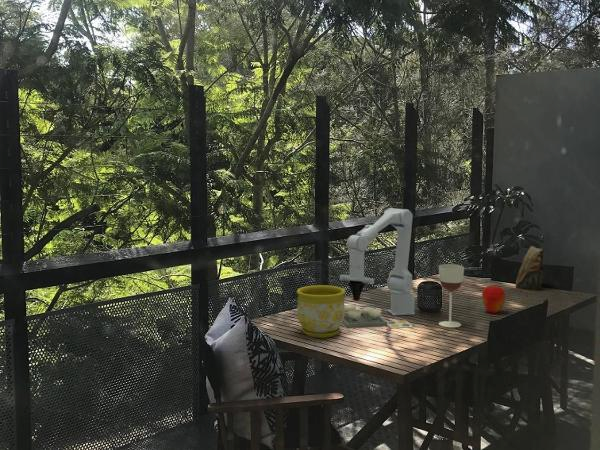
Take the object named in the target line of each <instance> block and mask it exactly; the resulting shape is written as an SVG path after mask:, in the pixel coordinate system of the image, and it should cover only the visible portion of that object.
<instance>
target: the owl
mask: <svg viewBox="0 0 600 450" xmlns="http://www.w3.org/2000/svg"><path fill="white" fill-rule="evenodd" d="M544 251H545V250H544V249H543V248H538V247H536V246H533V245H531V246H530V247H529V248H528V250H527V252H526V254H525V255H524V256H523V259H522V263H521V266H520V267H519V270H518V273H517V277H516V281H515V289H518V290H528V291H534V292H535V291H536V292H537V291H539V292H540V291H542V284H543V280H544V279H543V277H544V276H543V272H544V260H543V259H544V257H545V256H544Z"/></svg>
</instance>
